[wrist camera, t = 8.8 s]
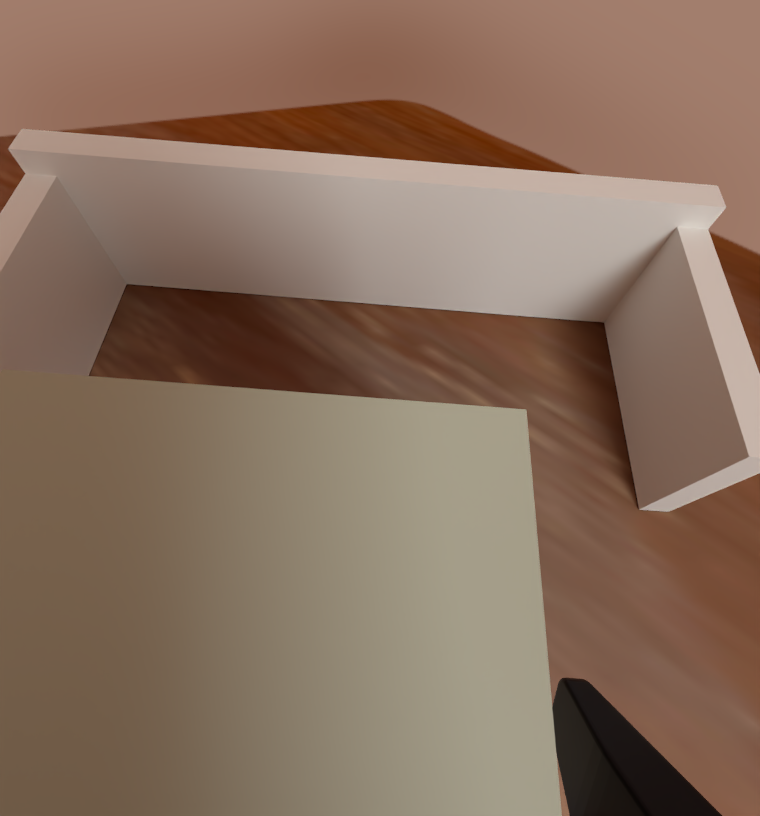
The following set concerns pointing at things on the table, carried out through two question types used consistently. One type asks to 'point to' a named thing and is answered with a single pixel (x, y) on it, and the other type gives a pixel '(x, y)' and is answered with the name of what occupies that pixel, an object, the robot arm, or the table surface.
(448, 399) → the table surface
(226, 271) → the open bay
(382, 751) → the sage block
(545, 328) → the table surface
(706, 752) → the table surface
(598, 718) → the robot arm
